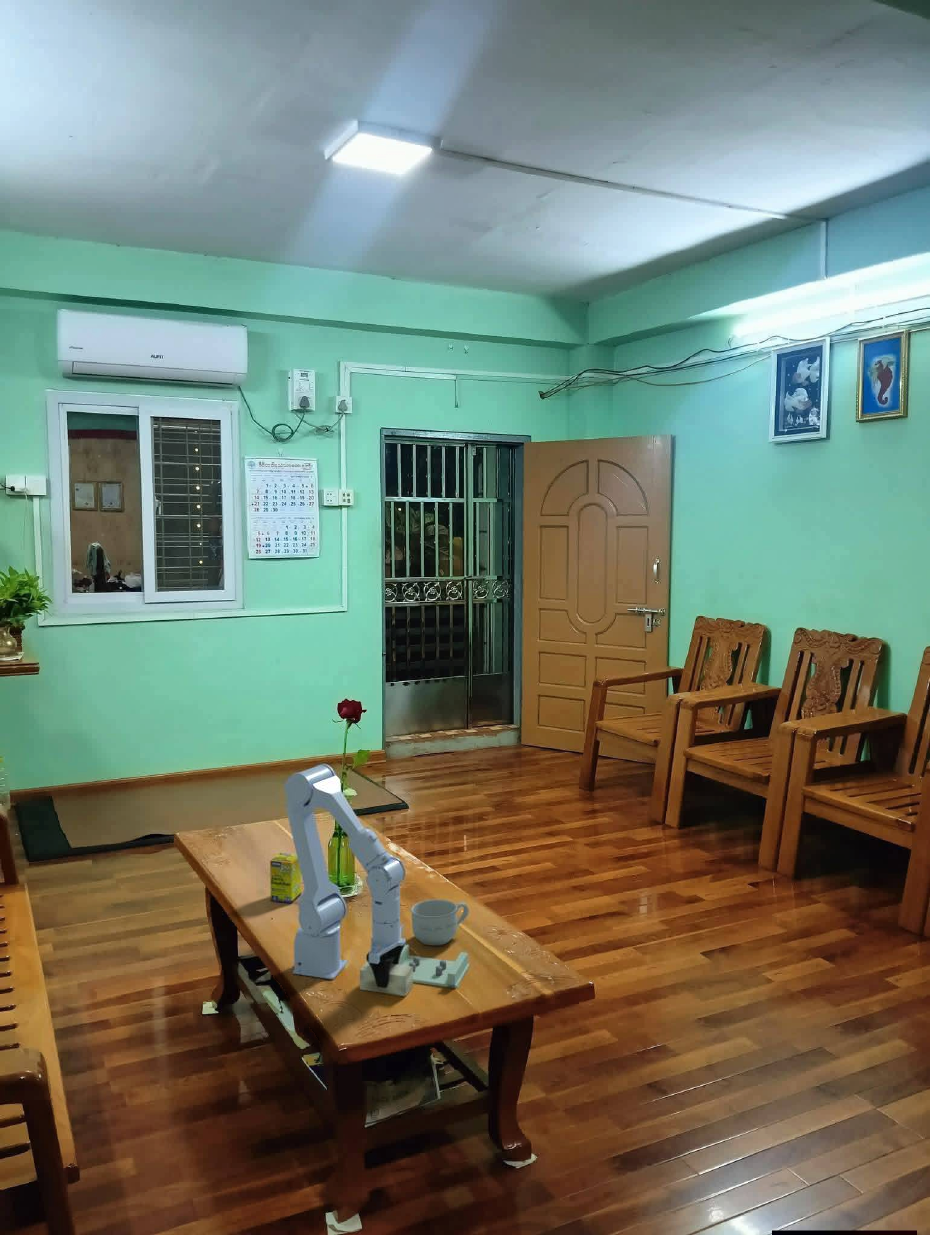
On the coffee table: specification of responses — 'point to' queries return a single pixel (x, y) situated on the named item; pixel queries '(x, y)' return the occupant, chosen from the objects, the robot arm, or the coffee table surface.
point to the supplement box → (285, 878)
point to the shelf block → (397, 982)
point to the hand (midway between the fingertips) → (386, 980)
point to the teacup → (436, 920)
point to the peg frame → (436, 969)
